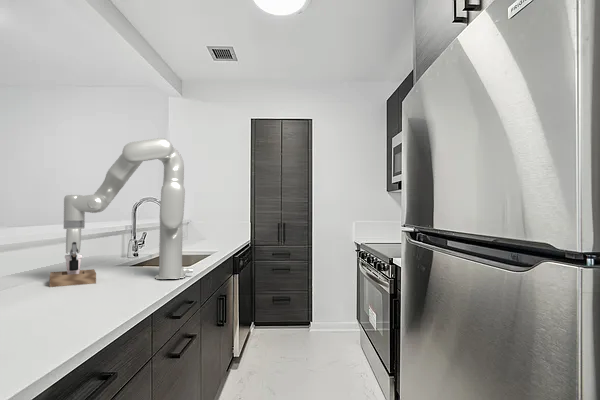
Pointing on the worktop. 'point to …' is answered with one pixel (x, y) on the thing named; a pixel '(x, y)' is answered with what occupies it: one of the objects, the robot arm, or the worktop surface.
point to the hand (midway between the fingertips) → (73, 268)
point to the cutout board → (72, 278)
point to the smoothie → (68, 264)
